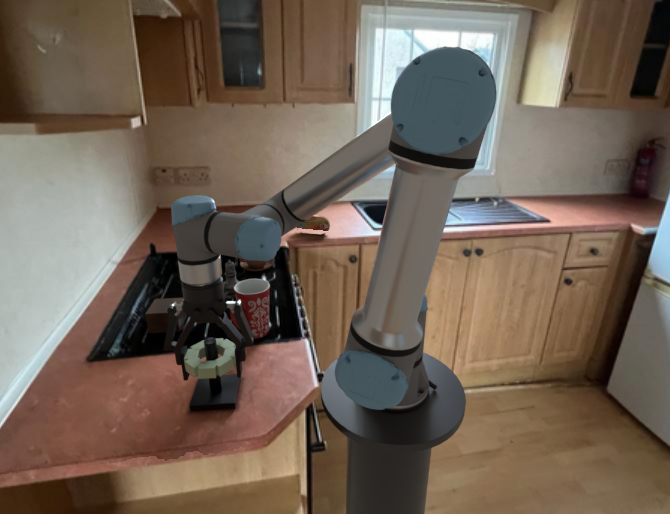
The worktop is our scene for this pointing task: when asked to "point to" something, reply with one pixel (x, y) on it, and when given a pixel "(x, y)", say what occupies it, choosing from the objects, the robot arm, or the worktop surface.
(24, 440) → the worktop surface
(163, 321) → the riser
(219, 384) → the stand
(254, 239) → the robot arm
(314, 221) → the tin
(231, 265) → the grey chess piece
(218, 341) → the ring disc
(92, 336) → the worktop surface
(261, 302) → the mug
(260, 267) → the cup and saucer
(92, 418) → the worktop surface
